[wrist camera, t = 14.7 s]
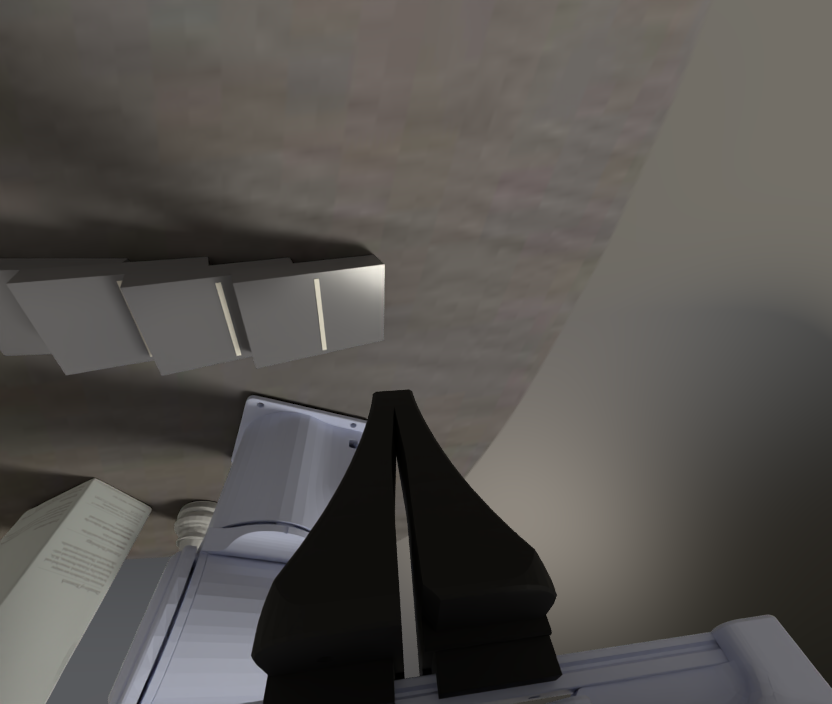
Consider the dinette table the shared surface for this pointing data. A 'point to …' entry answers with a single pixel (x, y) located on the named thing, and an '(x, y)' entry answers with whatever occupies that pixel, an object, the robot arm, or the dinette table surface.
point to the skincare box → (58, 581)
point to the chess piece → (193, 523)
